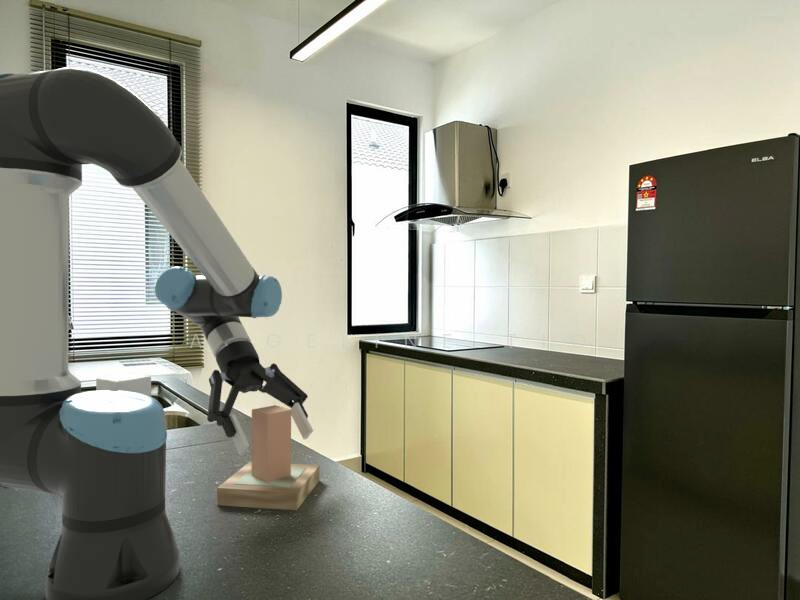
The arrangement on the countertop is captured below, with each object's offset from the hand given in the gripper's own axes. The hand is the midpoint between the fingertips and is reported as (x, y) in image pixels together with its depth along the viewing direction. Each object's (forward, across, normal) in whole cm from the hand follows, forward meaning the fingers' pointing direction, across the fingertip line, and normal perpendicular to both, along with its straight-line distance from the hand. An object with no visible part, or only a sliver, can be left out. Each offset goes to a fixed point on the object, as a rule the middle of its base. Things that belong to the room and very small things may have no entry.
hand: (278, 442), depth 98 cm
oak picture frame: (+5, 0, -8) cm, 10 cm away
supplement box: (-33, +5, -46) cm, 57 cm away
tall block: (+3, 0, -6) cm, 7 cm away
